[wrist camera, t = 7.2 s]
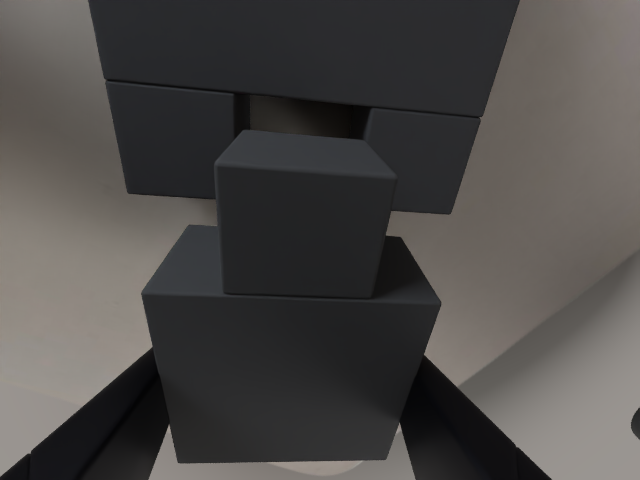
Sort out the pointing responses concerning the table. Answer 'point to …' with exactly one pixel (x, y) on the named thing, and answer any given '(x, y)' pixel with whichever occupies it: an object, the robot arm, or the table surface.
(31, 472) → the robot arm
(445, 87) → the dark gray pronged block
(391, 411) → the dark gray tabbed block
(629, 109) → the table surface
